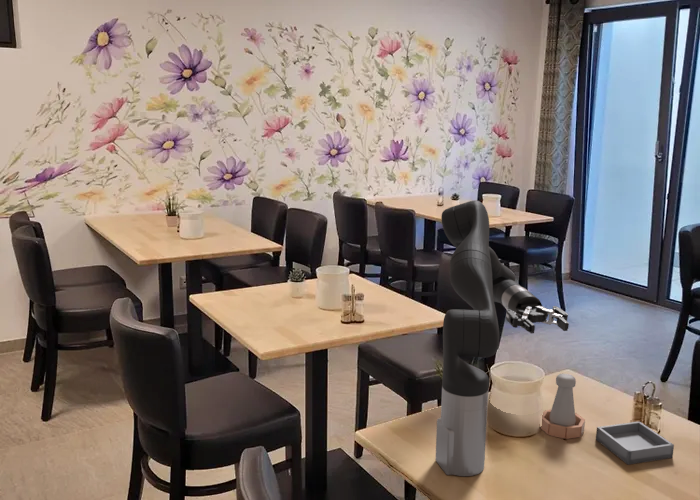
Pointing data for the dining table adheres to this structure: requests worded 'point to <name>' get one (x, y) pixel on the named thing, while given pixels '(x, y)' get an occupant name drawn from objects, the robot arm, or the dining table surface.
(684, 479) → the dining table surface
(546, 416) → the collar
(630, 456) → the tray
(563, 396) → the salt shaker
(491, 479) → the dining table surface
